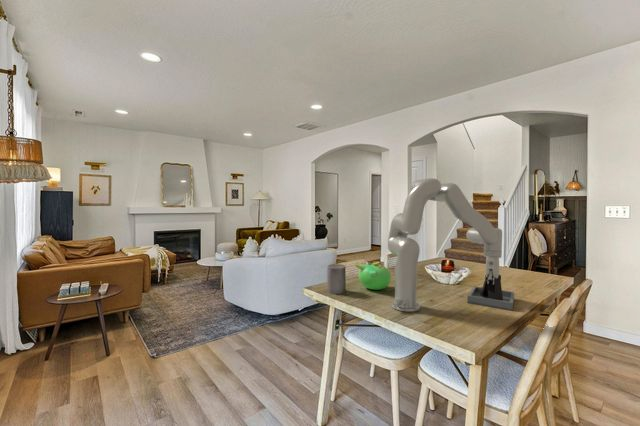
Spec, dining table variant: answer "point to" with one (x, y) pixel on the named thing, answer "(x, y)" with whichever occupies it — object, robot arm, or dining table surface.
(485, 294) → the door stopper
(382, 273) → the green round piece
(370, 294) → the dining table surface
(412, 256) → the robot arm
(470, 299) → the tray
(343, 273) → the pillar candle
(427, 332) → the dining table surface
